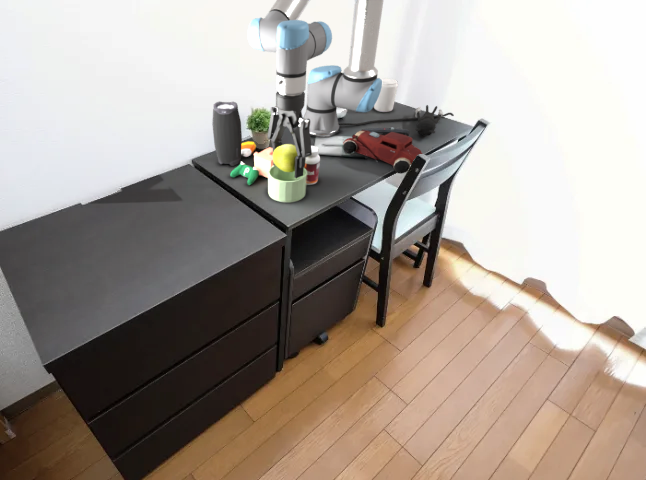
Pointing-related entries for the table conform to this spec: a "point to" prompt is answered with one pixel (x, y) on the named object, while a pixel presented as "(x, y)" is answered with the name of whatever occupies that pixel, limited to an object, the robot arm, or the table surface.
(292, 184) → the light green bowl
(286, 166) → the apple
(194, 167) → the table surface
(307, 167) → the pill bottle
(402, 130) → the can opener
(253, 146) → the candy corn
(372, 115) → the table surface
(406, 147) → the toy car
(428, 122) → the toy
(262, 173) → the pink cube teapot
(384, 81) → the white cylindrical container
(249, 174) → the gaming controller
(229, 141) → the portable speaker
